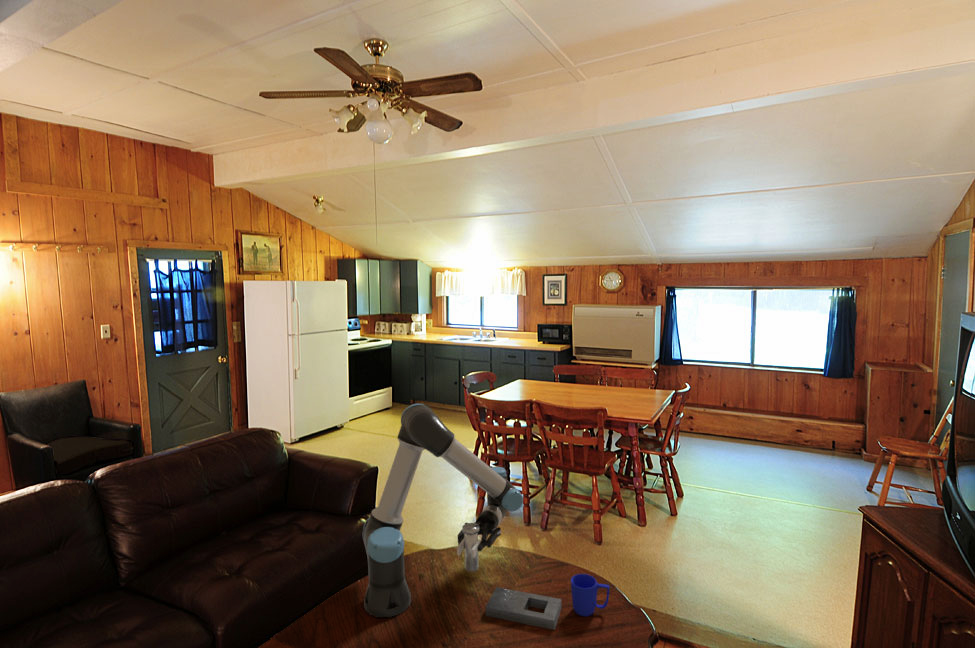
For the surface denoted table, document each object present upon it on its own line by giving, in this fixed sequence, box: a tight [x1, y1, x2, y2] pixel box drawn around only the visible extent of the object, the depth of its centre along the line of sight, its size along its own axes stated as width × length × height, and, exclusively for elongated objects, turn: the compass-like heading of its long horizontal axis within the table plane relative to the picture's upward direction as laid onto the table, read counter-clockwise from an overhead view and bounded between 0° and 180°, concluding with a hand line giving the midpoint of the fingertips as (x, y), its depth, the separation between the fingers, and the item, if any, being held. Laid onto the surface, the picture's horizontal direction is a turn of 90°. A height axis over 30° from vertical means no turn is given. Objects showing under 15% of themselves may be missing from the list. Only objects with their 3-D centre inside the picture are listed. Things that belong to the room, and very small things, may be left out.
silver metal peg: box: [461, 522, 479, 573], centre depth 167 cm, size 6×6×14 cm
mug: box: [570, 573, 610, 617], centre depth 161 cm, size 8×12×10 cm
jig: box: [485, 586, 562, 631], centre depth 161 cm, size 22×11×3 cm, turn 71°
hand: (465, 552), depth 161 cm, fingers closed on silver metal peg, 4 cm apart
